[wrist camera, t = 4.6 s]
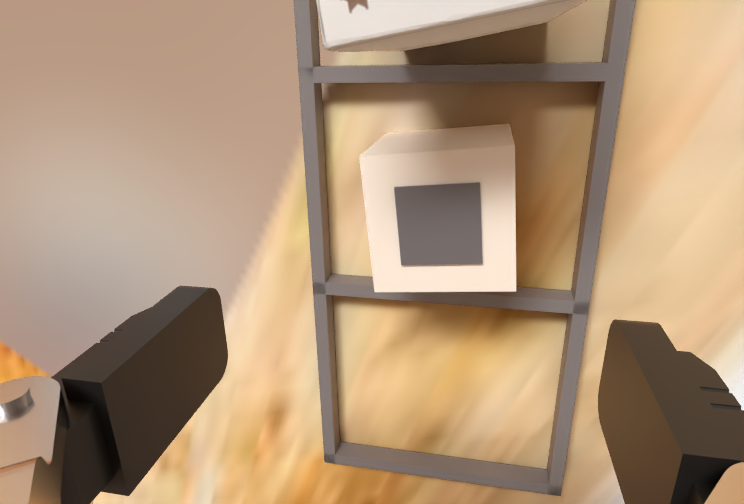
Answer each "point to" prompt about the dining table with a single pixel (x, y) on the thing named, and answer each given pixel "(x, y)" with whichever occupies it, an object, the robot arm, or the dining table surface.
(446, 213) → the white and grey cube
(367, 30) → the small box
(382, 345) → the dining table surface
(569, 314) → the frame
